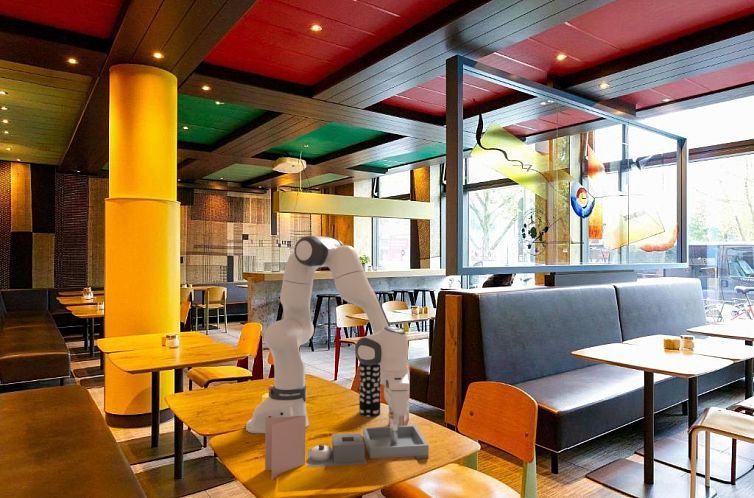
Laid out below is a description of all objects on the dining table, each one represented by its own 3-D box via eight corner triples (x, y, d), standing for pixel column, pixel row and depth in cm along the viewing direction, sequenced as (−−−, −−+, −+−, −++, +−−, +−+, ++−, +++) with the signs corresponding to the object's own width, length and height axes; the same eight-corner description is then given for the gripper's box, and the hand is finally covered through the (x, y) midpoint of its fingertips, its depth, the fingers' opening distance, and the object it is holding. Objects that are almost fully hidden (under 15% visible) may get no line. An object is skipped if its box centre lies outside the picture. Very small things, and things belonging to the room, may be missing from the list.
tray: (370, 461, 144) (370, 448, 144) (363, 439, 162) (363, 427, 162) (428, 458, 147) (428, 445, 147) (415, 436, 165) (415, 425, 165)
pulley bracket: (308, 470, 138) (308, 449, 138) (307, 452, 151) (308, 433, 151) (366, 467, 140) (366, 446, 141) (361, 449, 153) (361, 430, 153)
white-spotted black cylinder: (361, 409, 194) (361, 360, 195) (381, 410, 193) (381, 360, 194) (357, 416, 186) (357, 364, 186) (378, 417, 185) (379, 365, 185)
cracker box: (405, 432, 169) (405, 372, 169) (388, 431, 170) (388, 372, 170) (410, 419, 182) (410, 364, 183) (394, 418, 184) (394, 363, 184)
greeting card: (305, 466, 141) (305, 414, 141) (305, 477, 134) (306, 423, 134) (265, 468, 139) (265, 416, 140) (263, 480, 132) (264, 425, 132)
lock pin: (389, 447, 152) (389, 416, 153) (387, 443, 156) (387, 412, 156) (400, 447, 153) (400, 415, 153) (398, 442, 156) (398, 412, 157)
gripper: (379, 370, 165) (379, 411, 164) (390, 386, 145) (389, 432, 144) (397, 370, 166) (397, 410, 165) (410, 385, 145) (410, 431, 145)
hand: (394, 421), depth 155 cm, fingers open, 4 cm apart
